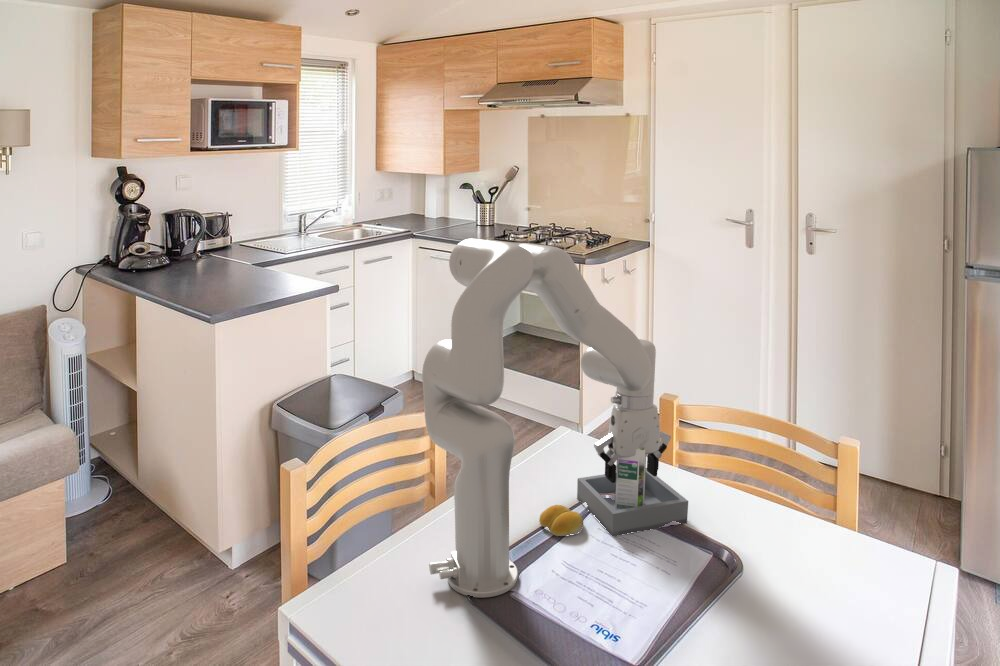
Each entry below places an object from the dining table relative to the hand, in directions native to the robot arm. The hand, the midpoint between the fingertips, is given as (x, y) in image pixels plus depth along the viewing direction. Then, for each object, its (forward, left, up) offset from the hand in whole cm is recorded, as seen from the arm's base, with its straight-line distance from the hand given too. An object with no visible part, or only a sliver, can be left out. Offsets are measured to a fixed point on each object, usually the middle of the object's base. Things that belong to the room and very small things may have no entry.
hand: (631, 477), depth 149 cm
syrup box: (0, 0, -7) cm, 7 cm away
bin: (0, 0, -8) cm, 8 cm away
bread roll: (-16, -1, -8) cm, 19 cm away
